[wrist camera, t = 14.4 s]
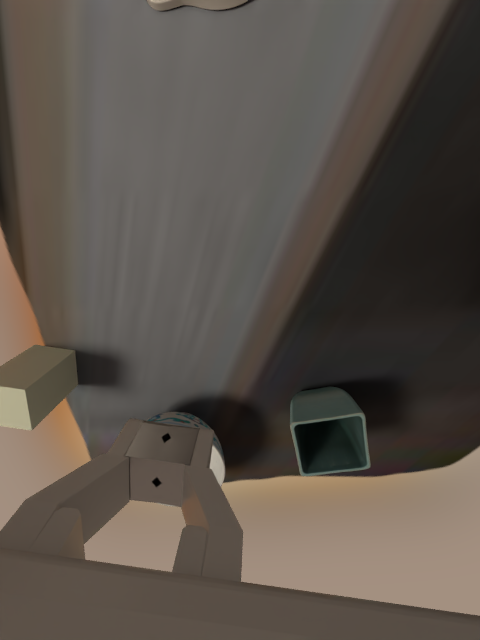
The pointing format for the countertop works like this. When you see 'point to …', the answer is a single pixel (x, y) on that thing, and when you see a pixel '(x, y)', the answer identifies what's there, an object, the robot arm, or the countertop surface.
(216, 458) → the chinaware
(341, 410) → the flower pot
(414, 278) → the countertop surface
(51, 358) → the sage block
